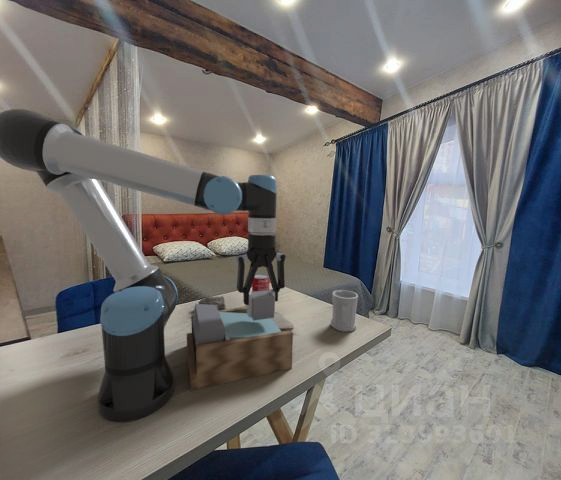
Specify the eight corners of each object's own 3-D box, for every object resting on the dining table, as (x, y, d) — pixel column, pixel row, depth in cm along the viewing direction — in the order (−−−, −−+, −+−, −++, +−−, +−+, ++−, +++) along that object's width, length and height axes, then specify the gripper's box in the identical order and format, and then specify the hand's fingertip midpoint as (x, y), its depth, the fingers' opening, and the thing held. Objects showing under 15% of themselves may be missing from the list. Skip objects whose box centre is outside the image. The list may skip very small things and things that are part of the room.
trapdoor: (196, 349, 64) (200, 329, 64) (192, 319, 80) (195, 303, 79) (285, 349, 73) (289, 332, 72) (265, 322, 88) (268, 308, 88)
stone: (295, 334, 92) (296, 326, 91) (266, 339, 88) (266, 331, 87) (278, 316, 105) (279, 309, 105) (252, 320, 101) (252, 313, 101)
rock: (196, 309, 109) (196, 293, 108) (214, 303, 116) (214, 288, 115) (215, 319, 100) (215, 302, 99) (234, 313, 107) (234, 297, 106)
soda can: (272, 305, 115) (272, 275, 113) (262, 311, 109) (262, 279, 107) (258, 301, 119) (259, 272, 117) (248, 307, 112) (248, 276, 111)
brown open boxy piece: (190, 390, 63) (189, 350, 62) (186, 345, 82) (185, 314, 80) (291, 368, 72) (292, 332, 71) (267, 332, 91) (267, 304, 90)
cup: (364, 332, 93) (367, 298, 91) (342, 336, 90) (344, 301, 88) (346, 319, 103) (348, 288, 101) (325, 322, 99) (327, 291, 98)
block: (253, 320, 74) (253, 299, 73) (247, 312, 80) (248, 292, 79) (274, 317, 76) (274, 297, 75) (267, 309, 82) (267, 290, 81)
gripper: (229, 235, 68) (229, 323, 71) (299, 234, 74) (296, 314, 78) (224, 232, 75) (225, 312, 78) (288, 231, 81) (286, 305, 85)
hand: (260, 313), depth 78 cm, fingers closed on block, 6 cm apart
